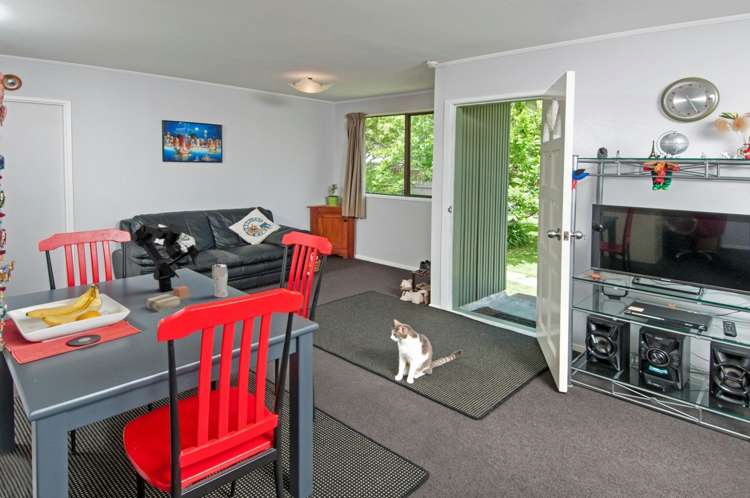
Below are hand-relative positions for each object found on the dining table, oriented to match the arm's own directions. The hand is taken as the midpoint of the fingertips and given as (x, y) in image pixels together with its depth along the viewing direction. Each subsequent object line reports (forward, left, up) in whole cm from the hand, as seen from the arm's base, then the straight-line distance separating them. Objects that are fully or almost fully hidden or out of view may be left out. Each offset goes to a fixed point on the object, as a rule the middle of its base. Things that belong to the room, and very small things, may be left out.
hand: (187, 272), depth 224 cm
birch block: (+2, -14, -13) cm, 19 cm away
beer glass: (+8, +12, -13) cm, 20 cm away
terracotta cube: (-5, -1, -13) cm, 14 cm away
